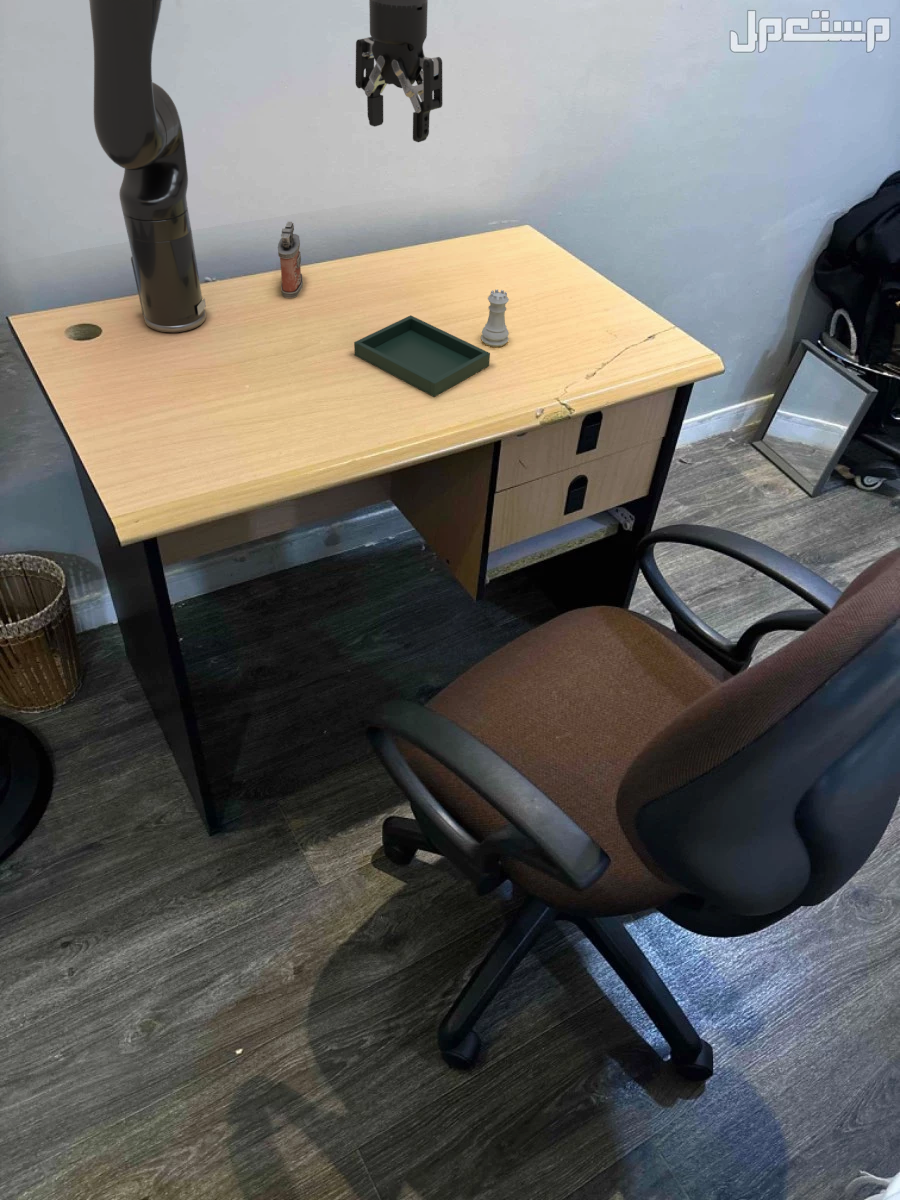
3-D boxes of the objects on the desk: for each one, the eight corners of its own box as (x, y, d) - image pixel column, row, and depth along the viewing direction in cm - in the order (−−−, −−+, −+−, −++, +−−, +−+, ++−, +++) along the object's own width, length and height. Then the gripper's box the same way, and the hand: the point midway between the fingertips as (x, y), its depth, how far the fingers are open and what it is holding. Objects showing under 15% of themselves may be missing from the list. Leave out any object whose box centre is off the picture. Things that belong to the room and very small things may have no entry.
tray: (354, 355, 135) (353, 342, 133) (410, 327, 142) (410, 314, 140) (434, 397, 127) (434, 383, 126) (489, 365, 134) (490, 353, 133)
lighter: (299, 298, 147) (294, 239, 140) (278, 297, 147) (273, 237, 140) (305, 277, 153) (301, 219, 145) (285, 276, 152) (280, 217, 145)
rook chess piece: (514, 341, 140) (519, 293, 134) (495, 350, 138) (500, 302, 132) (493, 331, 142) (497, 283, 136) (474, 340, 140) (478, 292, 134)
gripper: (338, -11, 113) (343, 125, 125) (419, 10, 107) (416, 152, 118) (379, -18, 118) (380, 115, 129) (459, 2, 111) (453, 140, 123)
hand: (397, 132), depth 124 cm, fingers open, 8 cm apart
